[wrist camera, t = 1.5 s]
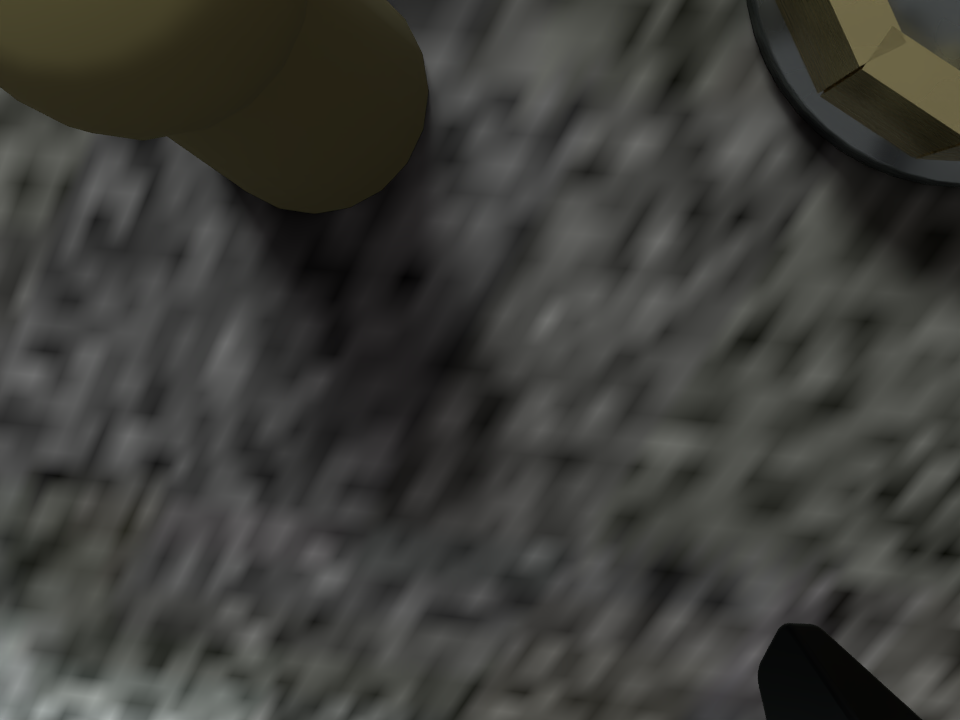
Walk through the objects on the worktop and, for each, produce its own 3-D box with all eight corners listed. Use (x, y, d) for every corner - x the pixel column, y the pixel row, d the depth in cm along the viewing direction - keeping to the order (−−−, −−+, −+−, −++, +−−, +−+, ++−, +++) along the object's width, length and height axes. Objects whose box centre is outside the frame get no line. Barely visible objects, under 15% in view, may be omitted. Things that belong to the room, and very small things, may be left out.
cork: (388, 243, 21) (217, 211, 10) (171, 173, 21) (-233, 66, 10) (458, 10, 20) (357, -306, 9) (231, -60, 20) (-135, -450, 9)
